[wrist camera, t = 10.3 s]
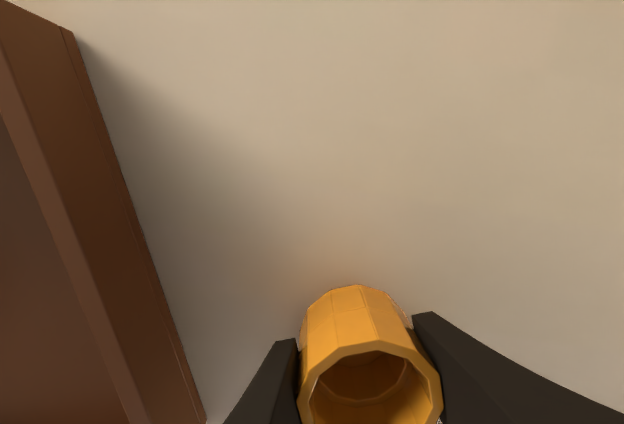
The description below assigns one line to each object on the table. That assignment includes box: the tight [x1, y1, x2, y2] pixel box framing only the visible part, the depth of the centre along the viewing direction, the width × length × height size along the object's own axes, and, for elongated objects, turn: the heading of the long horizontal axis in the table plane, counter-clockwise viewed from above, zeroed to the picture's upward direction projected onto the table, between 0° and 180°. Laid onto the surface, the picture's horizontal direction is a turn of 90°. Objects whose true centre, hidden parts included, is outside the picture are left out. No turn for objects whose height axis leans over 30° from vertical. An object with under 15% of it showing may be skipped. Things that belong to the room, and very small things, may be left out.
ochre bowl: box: [296, 285, 444, 424], centre depth 9 cm, size 4×4×3 cm
